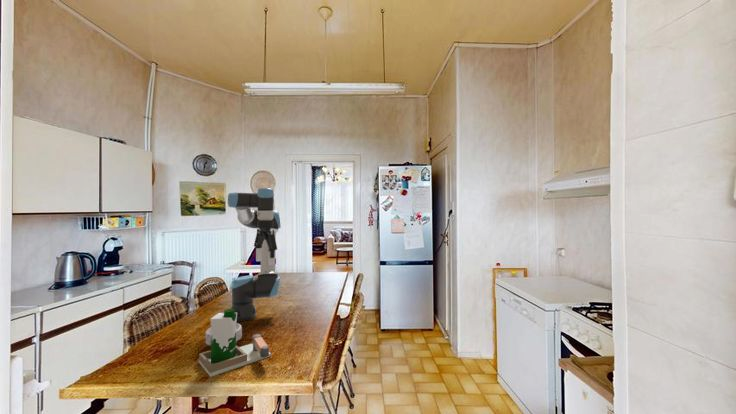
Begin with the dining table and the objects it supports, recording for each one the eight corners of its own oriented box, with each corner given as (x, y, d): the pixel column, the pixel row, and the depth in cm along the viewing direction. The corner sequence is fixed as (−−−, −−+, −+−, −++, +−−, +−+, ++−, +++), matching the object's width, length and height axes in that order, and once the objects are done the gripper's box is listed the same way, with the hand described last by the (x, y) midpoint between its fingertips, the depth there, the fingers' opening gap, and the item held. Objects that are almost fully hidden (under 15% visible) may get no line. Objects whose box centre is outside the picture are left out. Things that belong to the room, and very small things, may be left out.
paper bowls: (205, 355, 130) (205, 337, 130) (205, 342, 144) (205, 325, 144) (243, 348, 137) (243, 331, 137) (240, 336, 151) (240, 320, 151)
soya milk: (230, 364, 121) (230, 314, 121) (206, 364, 120) (207, 314, 121) (238, 354, 129) (239, 307, 130) (217, 354, 129) (217, 307, 129)
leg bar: (251, 342, 134) (251, 335, 134) (259, 340, 136) (259, 333, 136) (261, 358, 120) (261, 350, 120) (270, 356, 122) (270, 348, 122)
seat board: (198, 362, 125) (198, 352, 125) (255, 344, 141) (256, 336, 141) (210, 376, 114) (210, 366, 114) (270, 356, 131) (270, 347, 131)
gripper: (247, 219, 156) (247, 260, 156) (269, 220, 138) (269, 267, 138) (261, 218, 161) (261, 259, 161) (284, 220, 143) (284, 265, 143)
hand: (264, 262), depth 149 cm, fingers open, 13 cm apart
